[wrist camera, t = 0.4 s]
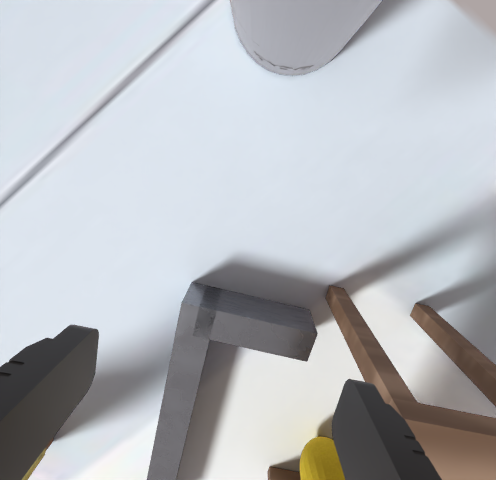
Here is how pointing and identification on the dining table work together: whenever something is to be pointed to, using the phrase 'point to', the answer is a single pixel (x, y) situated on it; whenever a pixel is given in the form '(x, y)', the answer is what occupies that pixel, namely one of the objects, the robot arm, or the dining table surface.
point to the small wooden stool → (420, 415)
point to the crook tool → (195, 348)
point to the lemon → (320, 461)
